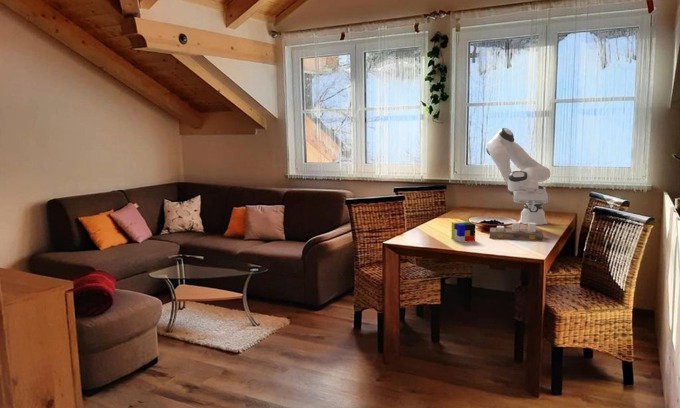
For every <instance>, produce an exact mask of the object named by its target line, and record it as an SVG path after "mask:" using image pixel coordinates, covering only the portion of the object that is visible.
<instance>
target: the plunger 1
mask: <svg viewBox="0 0 680 408" xmlns="http://www.w3.org/2000/svg"><path fill="white" fill-rule="evenodd" d="M496 228H497V231H504V228H505V226H504V225H497V226H496Z"/></svg>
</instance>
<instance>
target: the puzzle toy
mask: <svg viewBox="0 0 680 408" xmlns="http://www.w3.org/2000/svg"><path fill="white" fill-rule="evenodd" d="M451 240H454V241H456V242H458V241H459V243H464V242H465V241H467V242H475V241H476V223H473V222H470V221H468V220H466V221H452V222H451ZM465 243H466V242H465Z"/></svg>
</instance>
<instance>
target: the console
mask: <svg viewBox="0 0 680 408" xmlns="http://www.w3.org/2000/svg"><path fill="white" fill-rule="evenodd" d="M489 239H498V240H499V239H500V240H501V239H503V240H520V241H521V240H523V241H542V242H543V241H544V232H543V230H542V229H536V232H528V228H520V232H515V231H512V228H505V227H504V231H497V227H489Z"/></svg>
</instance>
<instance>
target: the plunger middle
mask: <svg viewBox="0 0 680 408" xmlns="http://www.w3.org/2000/svg"><path fill="white" fill-rule="evenodd" d="M520 225H521V223H520V222H518V221H512V226H511V227H512V228H511V229H512V231H515V232H520V229H521V228H520V227H521V226H520Z"/></svg>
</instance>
